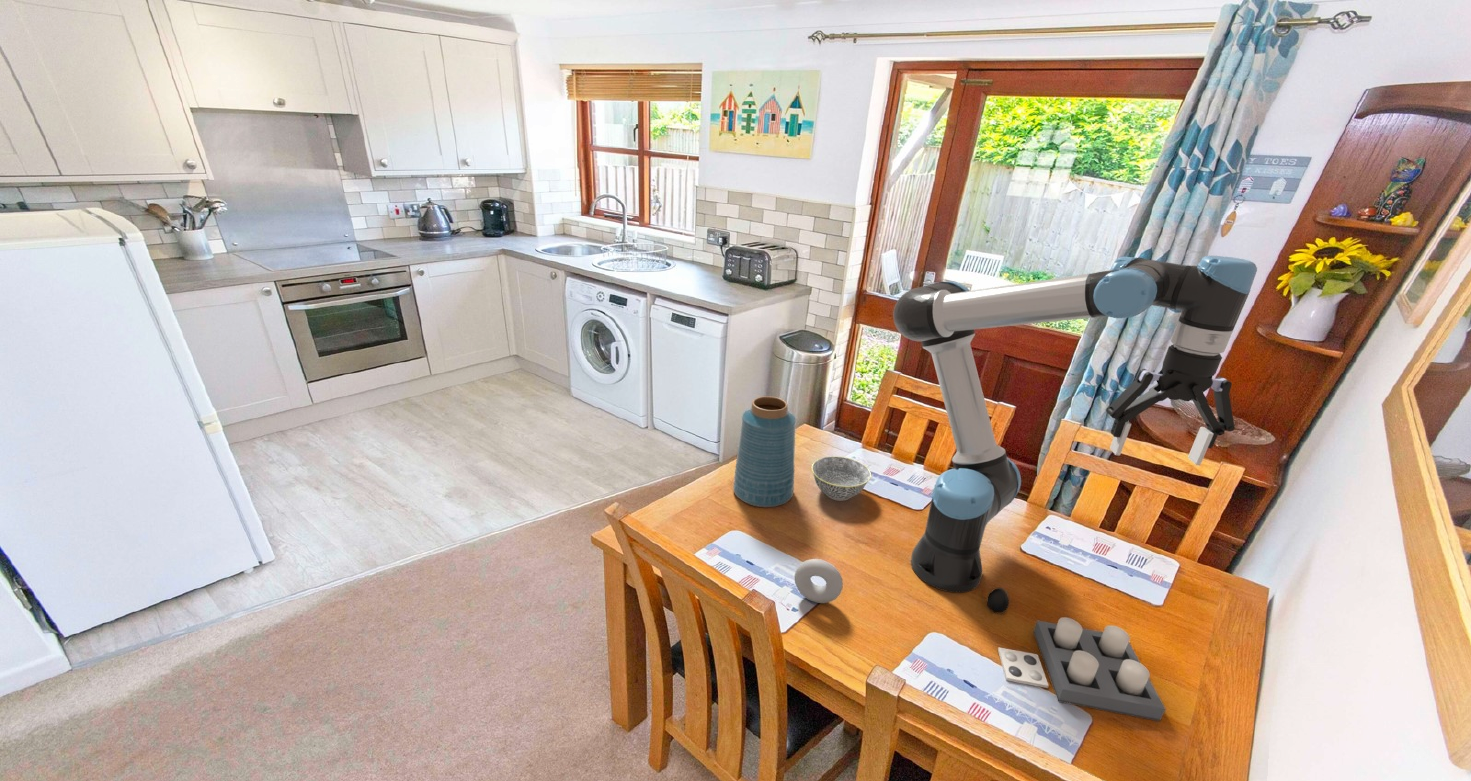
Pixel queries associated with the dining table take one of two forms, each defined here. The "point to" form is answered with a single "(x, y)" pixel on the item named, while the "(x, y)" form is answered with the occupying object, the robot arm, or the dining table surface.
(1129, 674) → the button
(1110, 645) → the button
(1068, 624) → the button
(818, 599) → the donut
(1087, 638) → the board
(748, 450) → the vase
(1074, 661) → the button
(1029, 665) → the card
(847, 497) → the bowl
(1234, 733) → the dining table surface
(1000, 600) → the egg
